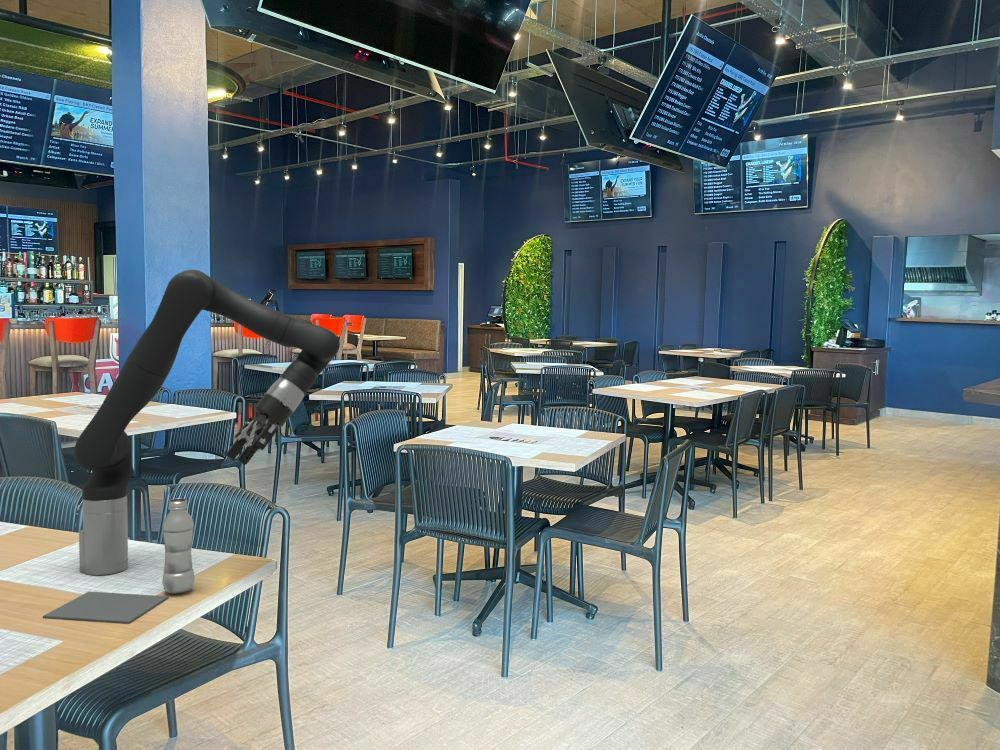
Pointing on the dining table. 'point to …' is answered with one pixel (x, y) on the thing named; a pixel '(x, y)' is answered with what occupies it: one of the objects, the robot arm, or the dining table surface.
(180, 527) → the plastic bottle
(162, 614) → the dining table surface
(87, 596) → the rubber mat
